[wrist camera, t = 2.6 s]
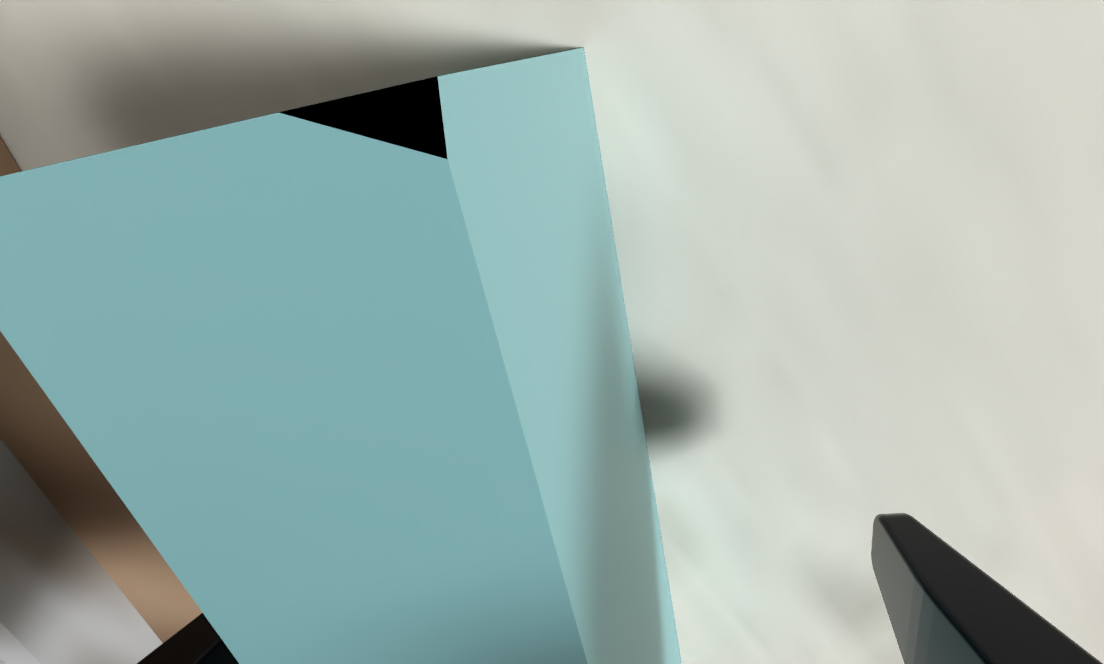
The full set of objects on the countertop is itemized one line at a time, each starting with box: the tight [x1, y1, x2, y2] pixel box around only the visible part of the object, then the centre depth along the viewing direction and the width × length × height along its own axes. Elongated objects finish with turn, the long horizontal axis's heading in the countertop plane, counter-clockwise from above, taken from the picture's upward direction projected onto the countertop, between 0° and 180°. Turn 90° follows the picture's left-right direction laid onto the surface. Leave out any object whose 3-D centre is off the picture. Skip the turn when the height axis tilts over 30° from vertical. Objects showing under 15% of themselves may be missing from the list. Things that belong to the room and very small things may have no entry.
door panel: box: [0, 48, 681, 664], centre depth 8 cm, size 14×2×7 cm, turn 12°
